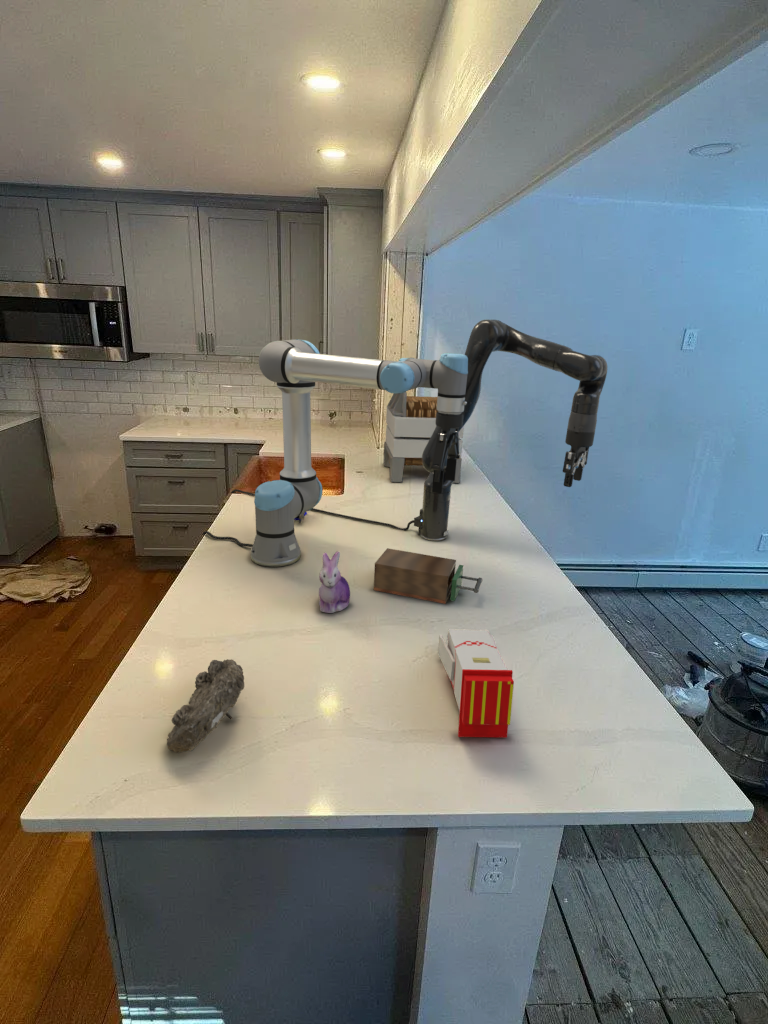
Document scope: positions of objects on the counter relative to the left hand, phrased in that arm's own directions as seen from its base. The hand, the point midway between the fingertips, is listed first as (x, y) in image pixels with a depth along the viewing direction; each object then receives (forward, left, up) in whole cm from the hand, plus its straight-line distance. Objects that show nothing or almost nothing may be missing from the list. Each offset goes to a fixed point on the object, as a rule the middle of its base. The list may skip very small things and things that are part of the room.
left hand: (443, 486), depth 163 cm
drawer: (+3, -12, -26) cm, 29 cm away
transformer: (-40, +102, -27) cm, 113 cm away
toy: (+23, -52, -27) cm, 63 cm away
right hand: (+34, +17, +2) cm, 38 cm away
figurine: (-19, -32, -27) cm, 46 cm away
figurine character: (-60, +20, -27) cm, 69 cm away
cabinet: (-3, -13, -27) cm, 30 cm away
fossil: (-20, -81, -27) cm, 87 cm away
